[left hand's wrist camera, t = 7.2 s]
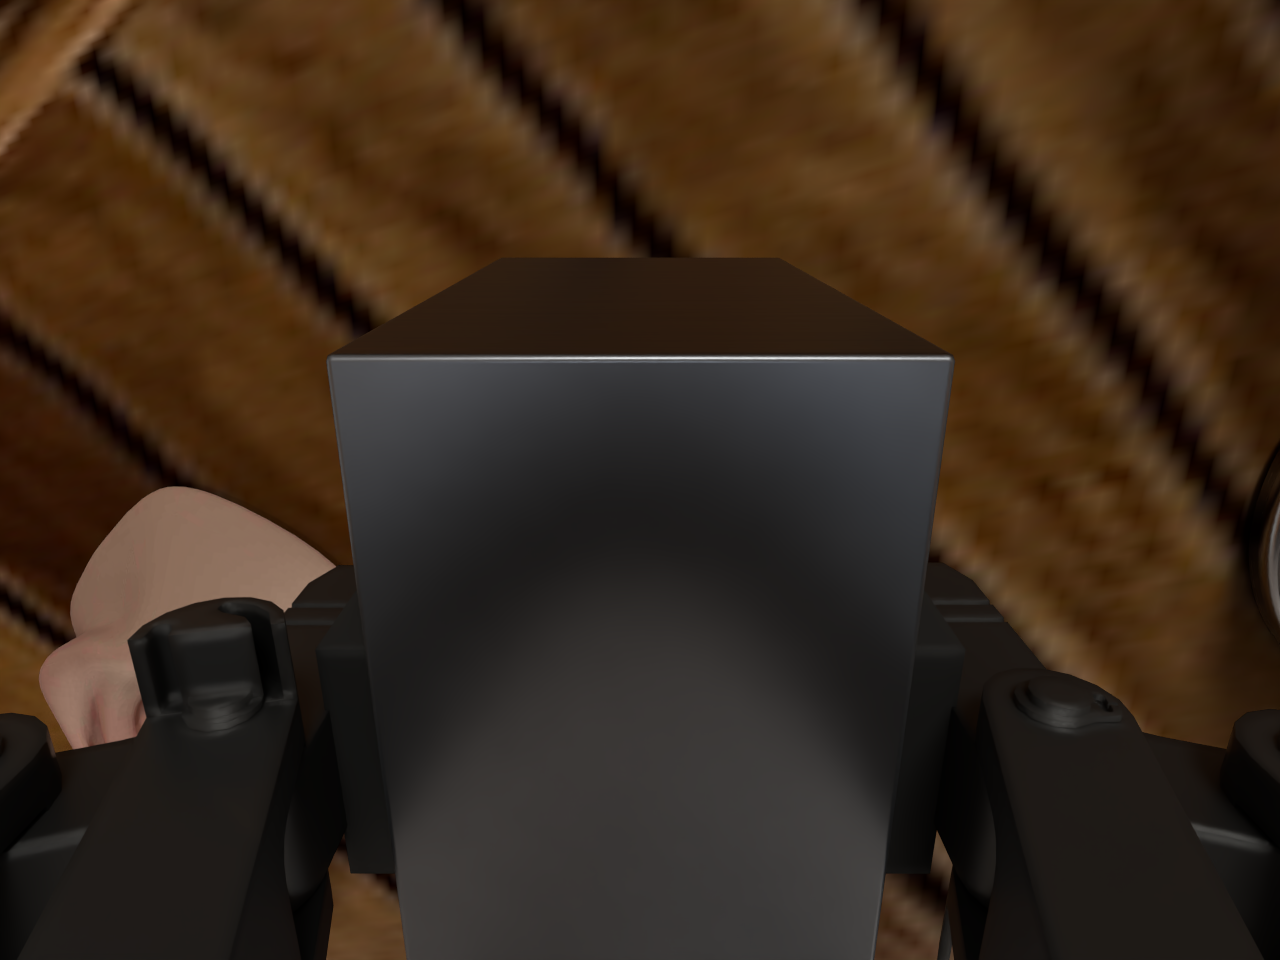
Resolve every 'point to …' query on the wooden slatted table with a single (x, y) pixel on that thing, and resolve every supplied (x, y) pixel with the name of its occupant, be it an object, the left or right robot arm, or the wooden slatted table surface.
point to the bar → (640, 604)
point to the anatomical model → (161, 598)
